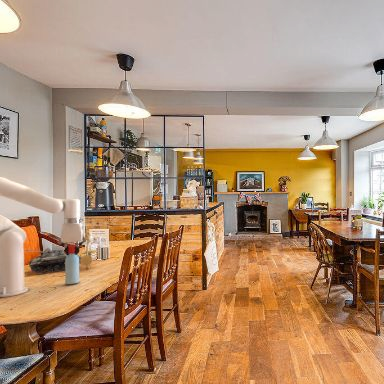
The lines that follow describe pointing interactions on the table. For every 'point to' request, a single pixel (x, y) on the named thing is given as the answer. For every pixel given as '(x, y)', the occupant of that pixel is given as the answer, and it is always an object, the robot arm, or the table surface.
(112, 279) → the table surface
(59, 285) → the table surface
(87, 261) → the wall sconce
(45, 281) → the table surface
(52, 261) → the tank
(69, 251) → the cap
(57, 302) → the table surface
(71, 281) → the bottle
